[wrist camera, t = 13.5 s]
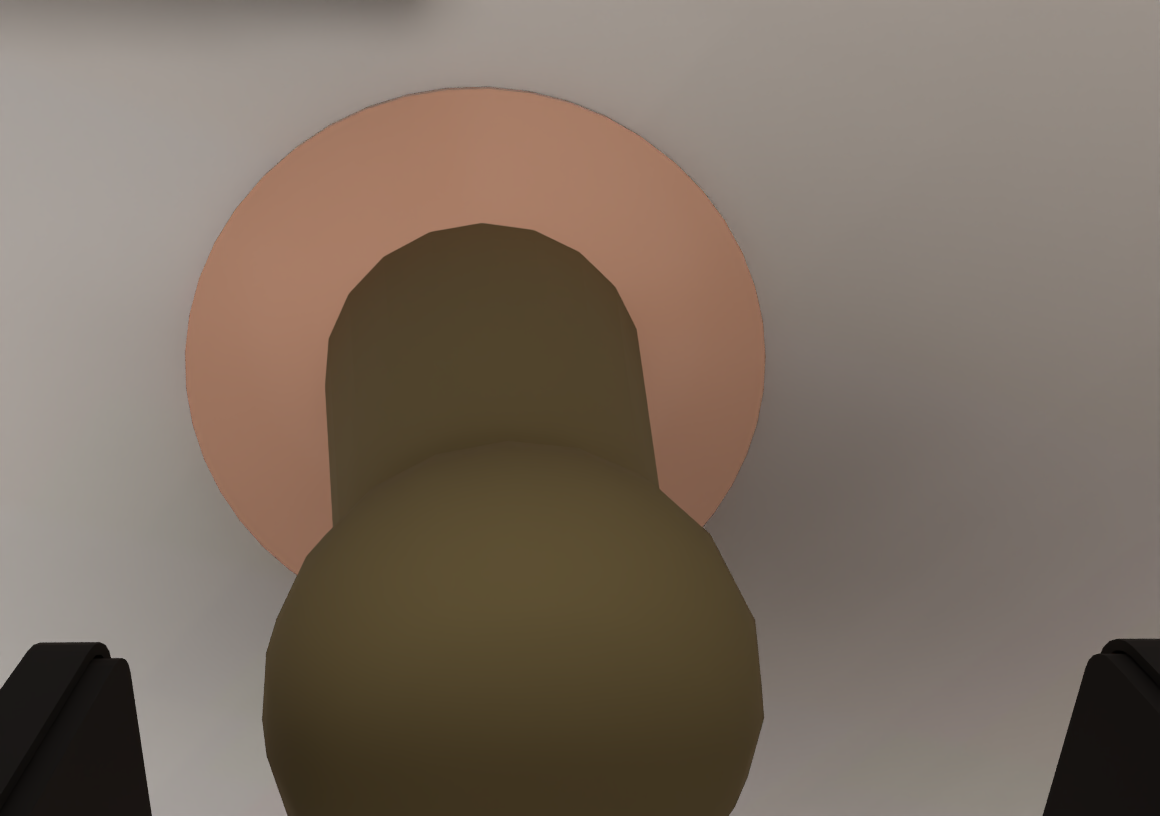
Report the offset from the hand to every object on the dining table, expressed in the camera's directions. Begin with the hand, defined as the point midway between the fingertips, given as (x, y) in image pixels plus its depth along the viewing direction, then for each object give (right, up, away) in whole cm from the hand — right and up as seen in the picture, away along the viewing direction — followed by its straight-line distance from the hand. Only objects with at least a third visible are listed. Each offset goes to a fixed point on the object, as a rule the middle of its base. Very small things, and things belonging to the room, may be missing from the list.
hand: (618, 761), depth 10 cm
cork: (-2, +4, +10) cm, 11 cm away
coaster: (-2, +4, +10) cm, 11 cm away
